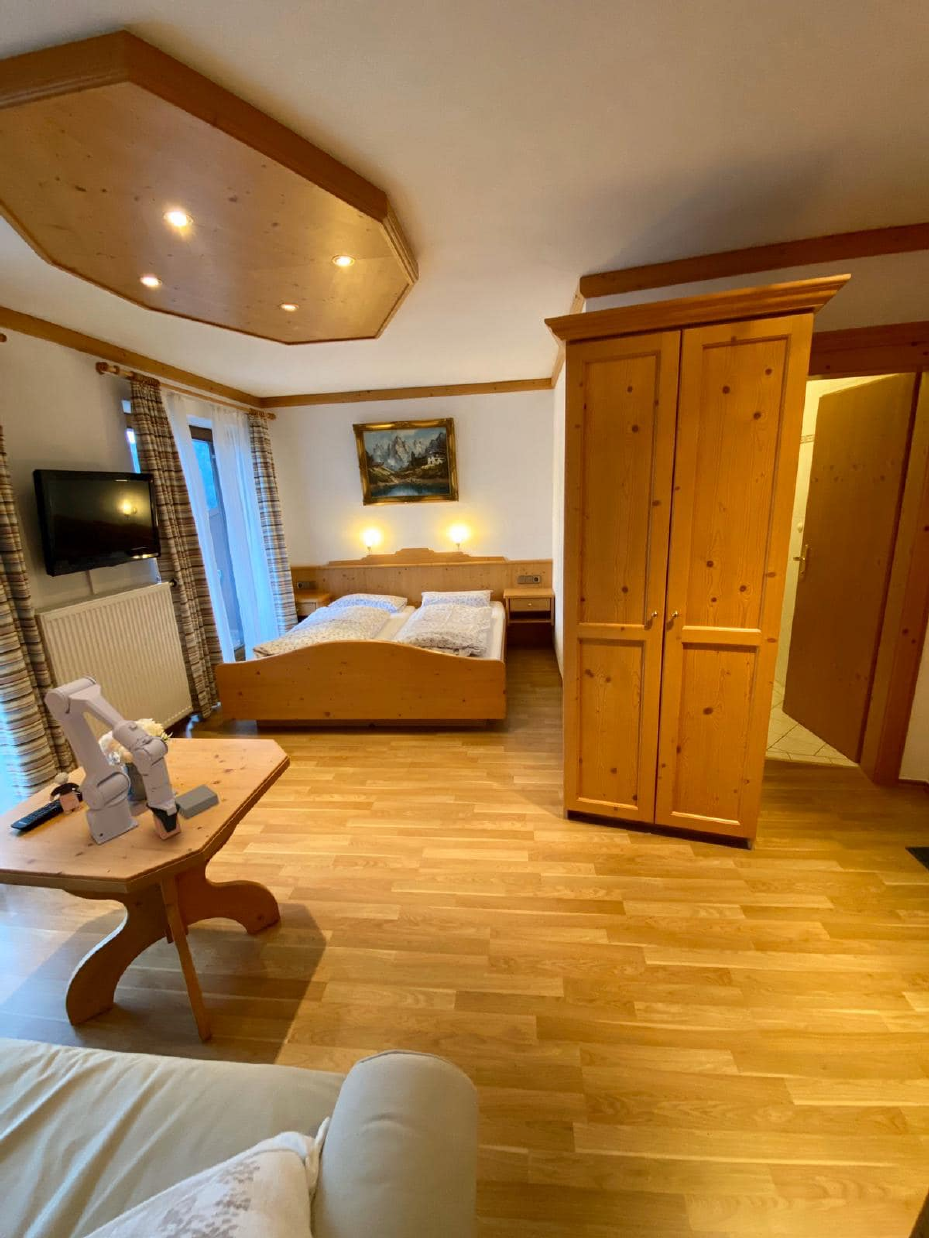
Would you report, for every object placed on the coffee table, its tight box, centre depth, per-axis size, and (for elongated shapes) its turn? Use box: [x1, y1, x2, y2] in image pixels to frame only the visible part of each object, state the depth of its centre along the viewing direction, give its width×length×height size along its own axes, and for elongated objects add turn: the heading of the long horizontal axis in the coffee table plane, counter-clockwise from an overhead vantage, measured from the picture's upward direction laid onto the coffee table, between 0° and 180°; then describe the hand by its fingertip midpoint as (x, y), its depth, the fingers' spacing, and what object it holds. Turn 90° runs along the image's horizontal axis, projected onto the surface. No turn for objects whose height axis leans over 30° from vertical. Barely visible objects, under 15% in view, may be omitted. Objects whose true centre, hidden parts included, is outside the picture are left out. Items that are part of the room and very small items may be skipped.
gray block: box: [174, 783, 220, 820], centre depth 142 cm, size 9×9×3 cm
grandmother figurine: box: [49, 771, 84, 815], centre depth 141 cm, size 8×4×13 cm, turn 141°
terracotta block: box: [152, 813, 182, 841], centre depth 129 cm, size 4×4×6 cm
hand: (167, 826), depth 130 cm, fingers closed on terracotta block, 4 cm apart
